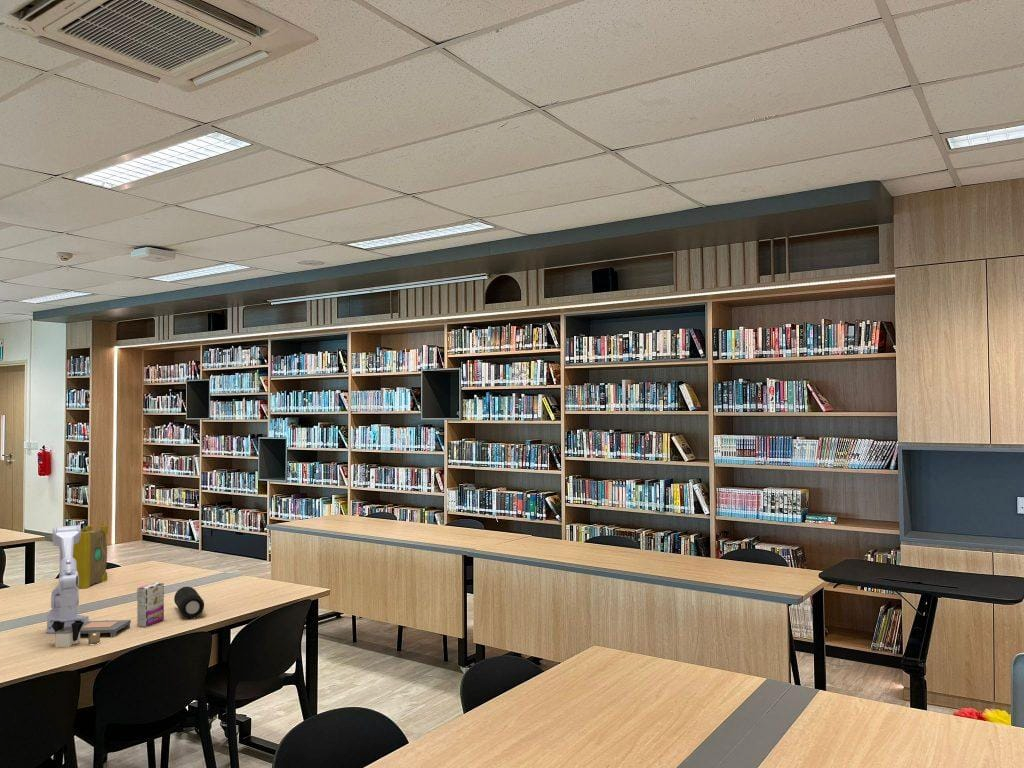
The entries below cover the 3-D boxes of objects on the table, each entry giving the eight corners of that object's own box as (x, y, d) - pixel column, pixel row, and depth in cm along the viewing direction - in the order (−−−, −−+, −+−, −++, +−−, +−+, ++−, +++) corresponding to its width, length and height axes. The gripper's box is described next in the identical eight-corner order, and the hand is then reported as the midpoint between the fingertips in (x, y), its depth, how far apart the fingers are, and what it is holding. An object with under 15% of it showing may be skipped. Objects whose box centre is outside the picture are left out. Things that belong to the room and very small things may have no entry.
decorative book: (87, 588, 381) (88, 530, 382) (66, 588, 381) (67, 530, 382) (108, 580, 401) (109, 524, 402) (88, 580, 401) (89, 525, 402)
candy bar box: (154, 619, 320) (154, 581, 321) (164, 620, 319) (164, 582, 320) (136, 626, 309) (136, 587, 310) (146, 627, 308) (147, 588, 309)
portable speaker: (173, 608, 339) (173, 586, 339) (196, 605, 344) (196, 584, 344) (180, 621, 317) (180, 598, 318) (205, 618, 322) (205, 595, 323)
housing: (55, 647, 282) (55, 631, 282) (66, 641, 290) (67, 626, 290) (68, 647, 282) (69, 631, 282) (79, 641, 290) (80, 625, 290)
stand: (68, 638, 294) (68, 630, 294) (86, 628, 308) (86, 620, 308) (114, 637, 295) (114, 628, 295) (130, 627, 309) (130, 619, 309)
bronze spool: (86, 645, 284) (86, 635, 285) (91, 642, 288) (91, 632, 289) (96, 645, 285) (96, 634, 285) (101, 642, 289) (102, 631, 289)
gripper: (43, 608, 282) (42, 644, 282) (82, 607, 283) (81, 643, 282) (53, 603, 289) (53, 638, 289) (91, 603, 290) (91, 637, 289)
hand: (67, 640), depth 286 cm, fingers closed on housing, 5 cm apart
